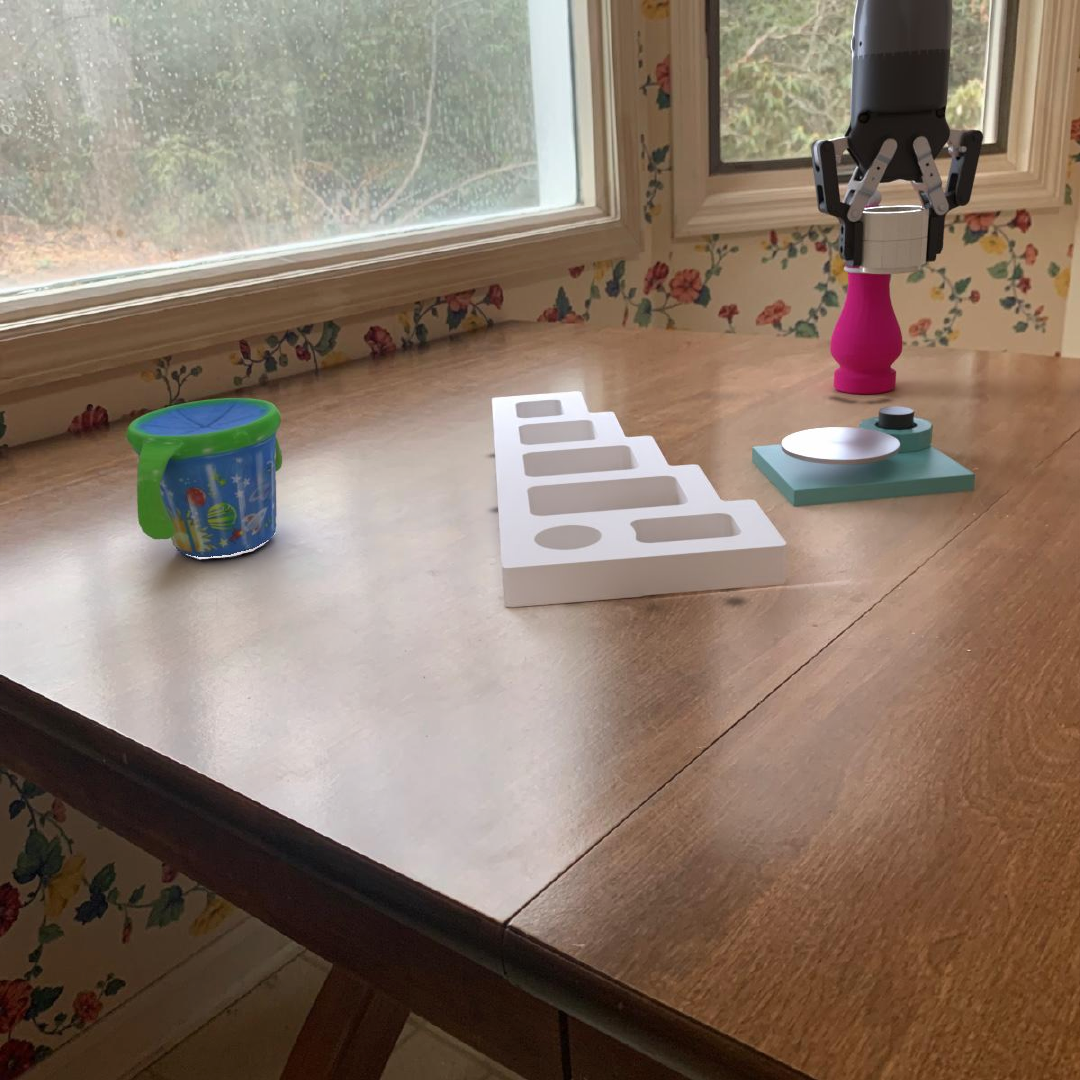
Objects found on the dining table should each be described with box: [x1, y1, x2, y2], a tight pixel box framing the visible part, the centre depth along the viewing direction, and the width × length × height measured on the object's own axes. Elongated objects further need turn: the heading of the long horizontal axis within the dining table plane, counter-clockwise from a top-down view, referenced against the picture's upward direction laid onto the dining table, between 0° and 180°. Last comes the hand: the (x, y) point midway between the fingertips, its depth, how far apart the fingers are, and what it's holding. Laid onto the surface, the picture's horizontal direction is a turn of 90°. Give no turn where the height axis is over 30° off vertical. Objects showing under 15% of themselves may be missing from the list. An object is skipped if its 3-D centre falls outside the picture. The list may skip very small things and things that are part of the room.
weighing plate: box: [780, 426, 900, 465], centre depth 86 cm, size 9×9×1 cm
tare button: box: [878, 405, 915, 430], centre depth 90 cm, size 3×3×2 cm
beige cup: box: [859, 205, 929, 275], centre depth 93 cm, size 6×6×5 cm
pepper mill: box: [829, 189, 903, 395], centre depth 111 cm, size 7×7×20 cm
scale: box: [751, 416, 976, 508], centre depth 88 cm, size 14×12×3 cm
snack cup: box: [125, 397, 283, 560], centre depth 81 cm, size 16×10×10 cm
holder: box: [491, 390, 787, 608], centre depth 89 cm, size 45×18×3 cm, turn 3°
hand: (890, 262), depth 93 cm, fingers closed on beige cup, 6 cm apart
